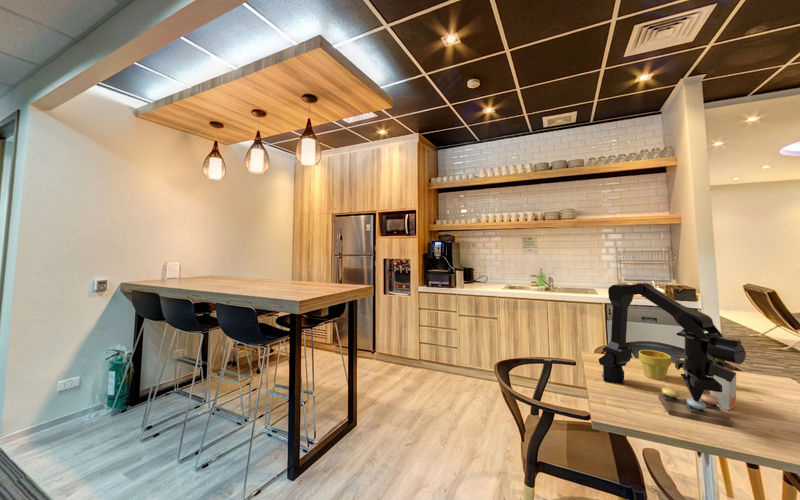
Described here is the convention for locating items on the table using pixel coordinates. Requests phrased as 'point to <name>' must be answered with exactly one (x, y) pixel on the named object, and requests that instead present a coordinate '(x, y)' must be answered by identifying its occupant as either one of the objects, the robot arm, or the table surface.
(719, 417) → the board
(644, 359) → the plant pot
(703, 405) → the slate-blue button
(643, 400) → the table surface
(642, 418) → the table surface
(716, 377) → the skincare box
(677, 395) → the ochre button
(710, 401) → the terracotta button
